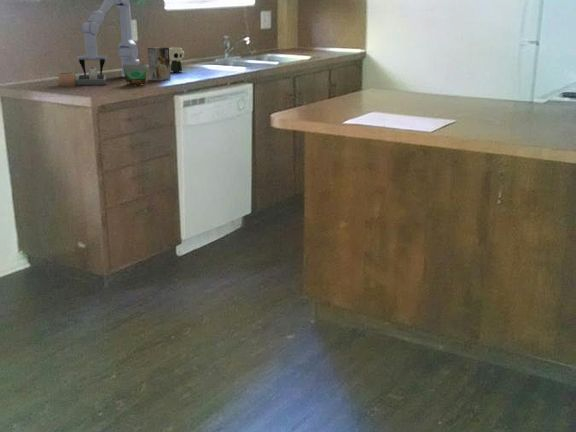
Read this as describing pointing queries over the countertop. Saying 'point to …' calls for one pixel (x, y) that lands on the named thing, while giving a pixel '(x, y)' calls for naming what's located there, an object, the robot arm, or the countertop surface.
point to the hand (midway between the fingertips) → (93, 74)
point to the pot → (67, 79)
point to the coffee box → (159, 63)
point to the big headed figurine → (176, 58)
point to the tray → (85, 80)
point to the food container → (135, 74)
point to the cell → (93, 73)
